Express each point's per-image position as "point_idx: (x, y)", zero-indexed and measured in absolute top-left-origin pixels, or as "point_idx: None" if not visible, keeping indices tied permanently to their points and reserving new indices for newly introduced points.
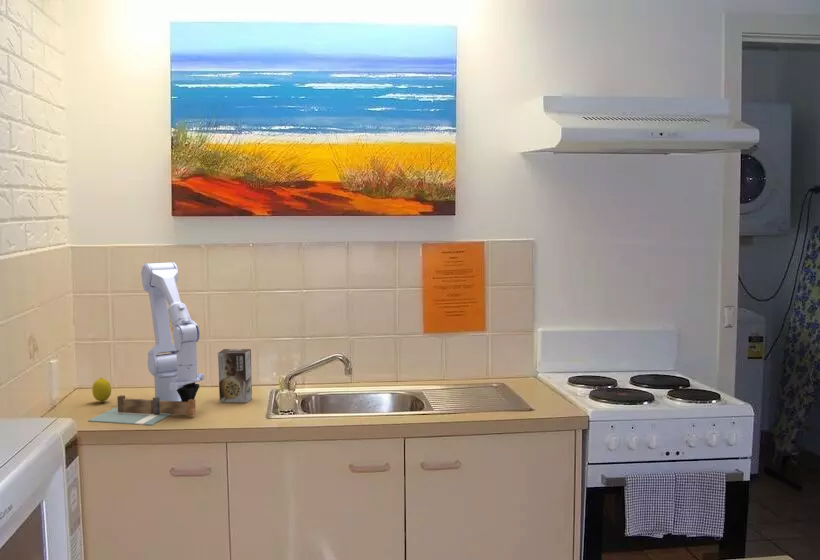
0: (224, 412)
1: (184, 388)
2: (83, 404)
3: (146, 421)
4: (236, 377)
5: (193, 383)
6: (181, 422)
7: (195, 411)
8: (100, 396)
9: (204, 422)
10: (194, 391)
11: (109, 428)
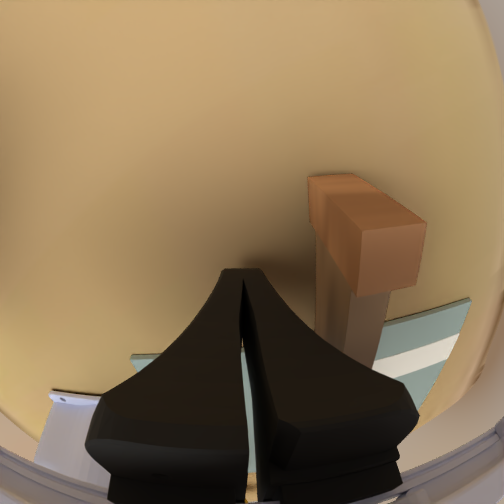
0: (110, 37)
1: (389, 453)
2: (255, 492)
3: (439, 341)
4: None
5: (155, 496)
6: (438, 194)
7: (316, 183)
8: (245, 502)
9: (411, 45)
10: (236, 375)
11: (467, 372)
